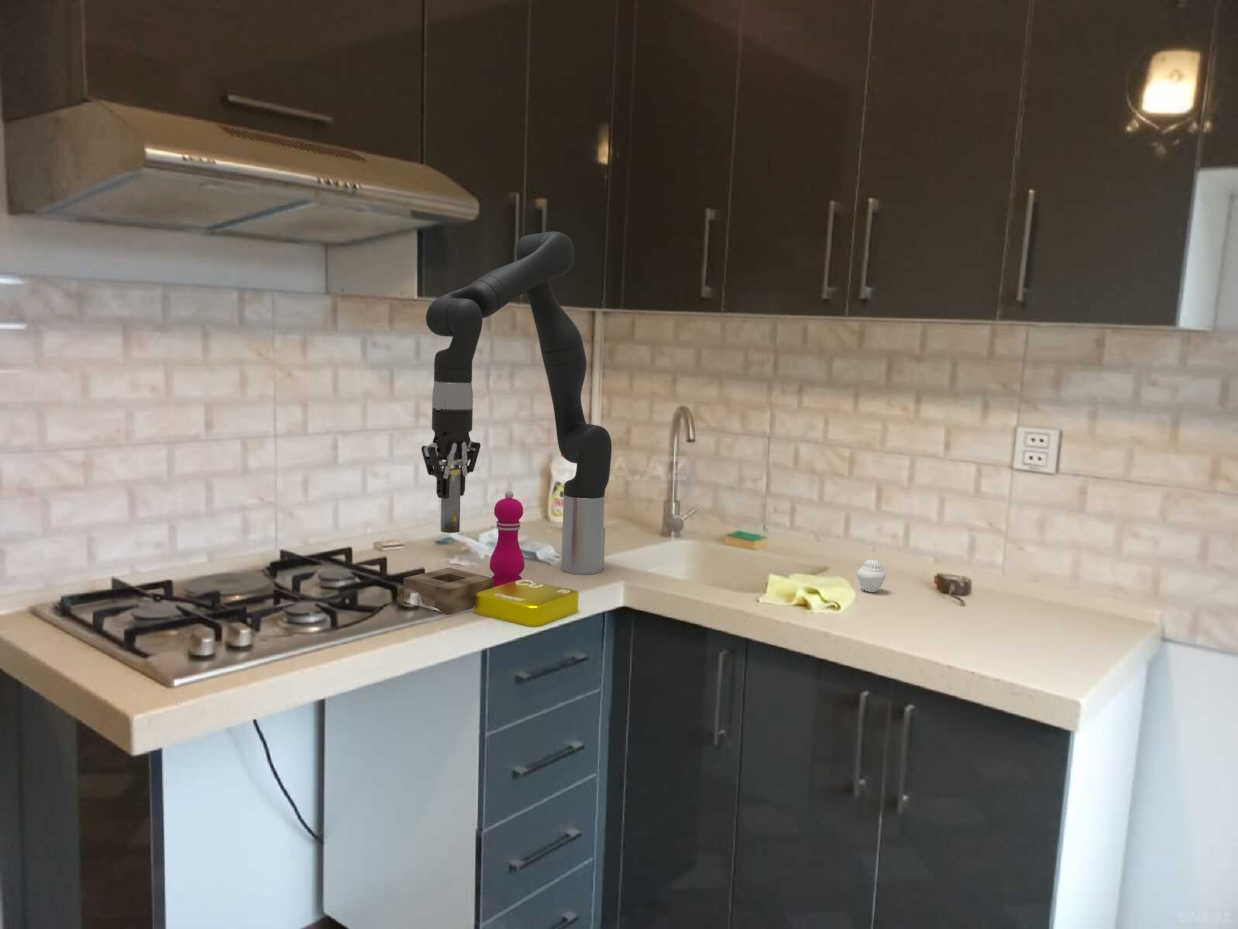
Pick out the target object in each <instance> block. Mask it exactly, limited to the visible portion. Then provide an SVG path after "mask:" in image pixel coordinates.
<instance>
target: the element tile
mask: <svg viewBox="0 0 1238 929" xmlns="http://www.w3.org/2000/svg"><path fill="white" fill-rule="evenodd" d="M474 608H475V609H474V613H475V614H476V615H479V616H483V617H487V618H492V619H495V620H500V621H503V622H508V623H512V624H517V625H521V626H524V627H533V628H535V627H536V628H537V627H542V626H545V625H547V624H550V623H553V622H556V621H558V620H561V619H563V618H567V617H569V616H571V615H574V614H577V613H578V612H579V591H578V590H575V589H571V588H565V587H560V586H555V585H551V584H548V583H542V582H536V581H533V580H530V579H522V580H516V581H513V582H510V583H506V584H503V585H500V586H497V587H493V588H490V589H487V590H483V591H480V592H478V593H476V599H475V607H474Z"/></svg>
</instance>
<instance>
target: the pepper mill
mask: <svg viewBox="0 0 1238 929" xmlns="http://www.w3.org/2000/svg"><path fill="white" fill-rule="evenodd" d="M523 506H524V505H523V503H521V502H520V500H519V499H516V498H514V492H513V491H512V490H507V491H506V492H505V493H504V498H501V499H500V500H498V501H497V502H496V503H495V506H494V508H493V514H494V516H495V518H496V519H497V520H496V525H495V528H496V529H497V534H498V536H497V540H496V545H495V548H494V550H493V551H492V554H491V556H490V560H489V569H490V571H491V572H492V573H493V575H492V576H491V578H493V587H497V586H500V585H503V584H506V583H510V582H513V581H516V580H523V579H522V576H521V573H522V572H523V571H524V569H525V559H524V554H523V552H522V550H521V547H520V544H519V530H520V529H521V522H520V519H521V518H522V517H523V514H524V507H523Z"/></svg>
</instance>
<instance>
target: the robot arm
mask: <svg viewBox="0 0 1238 929" xmlns="http://www.w3.org/2000/svg"><path fill="white" fill-rule="evenodd" d="M575 254H576V253H575V247H574V244H573V242H572V240H571V239H570V237H569V236H568V235H566V234H565V233H564V232H563V233H562V232H561V231H547V232H546V231H545V232H540V233H539V232H538V233H534V234H527V235H523V236H521V237H520V239H519V240H518V242H517V245H516V250H515V256H516V261H514V262H511V263H508V264H506V265H503V266H500V267H498V268H495V269H493V270H491V271H489V272H487V273H485V274H484V275H482V276H480V277H478V279H476V280H474V281H473V282H471V283H470V284H469V285H467V286H464V287H462V288H459V289H455V290H453V291H450V292H448V293H445V294H443V295H441V296H439V297H437V298H436V299H435V300H433V301H432V302H431V304H430V305H429V306H428V308H427V310H426V314H425V322H426V325H427V327H428V329H429V331H431V332H432V334H435V335H437V336H441V337H452V338H451V342H450V343H449V347H447V348H445V349H441V350H439V351H437V352H435V355H434V362H433V364H434V365H433V367H434V368H433V386H432V395H431V399H432V400H431V404H432V405H431V430H432V431H433V432H434V436H433V439H432V442H431V443H430V444H429V445H422V446H421V448H420V449H421V453H422V458H423V460H424V464H425V467H426V468H425V469H426V471H427V474H428V476H432V477H435V479H436V487H435V488H436V495H437V497H438V499H441V498H443V499H445V498H448V496H449V479H447V478H448V475H449V470H450V467H452V468H460V469H461V493H460V497H462V496H463V497H464V496H465V492H466V477H467V475H468V474H470V473H473V472H474V471H475V467H476V464H477V460H478V457H479V452H480V448H481V443H480V442H476V441H472V440H471V437H470V432H472V430H473V416H474V414H473V411H474V410H473V409H474V408H473V406H474V404H473V403H474V400H473V399H474V392H473V383H472V382H473V360H474V357H475V353H476V350H477V346H478V343H479V340H480V336H481V332H482V327H483V319H486V318H488V317H490V316H493V314H495V313H496V312H498V311H500V310H501V309H502V308H503V307H505V306H507V305H508V304H509V303H511V302H512V301H513V300H515V299H517V298H519V297H520V296H521V295H523V294H525V293H526V296H527V299H528V302H529V305H530V309H531V312H532V317H533V320H534V325H535V329H536V332H537V338H538V342H539V347H540V352H541V357H542V362H543V366H544V369H545V373H546V377H547V378H546V379H547V381H548V388H549V392H550V397H551V401H552V402H551V403H552V407H553V412H554V414H553V415H554V422H555V423H554V424H555V430H556V439H557V445H558V450H559V452H560V454H561V455H562V457H563V458H564V459H565V460H566V461H567V462H569V463H573V464H576V470H575V475H574V476H573V478H572V479H569V480H566V481H565V482H564V484H563V500H562V503H563V504H562V528H561V529H562V530H561V531H562V532H561V533H562V534H561V552H560V553H561V554H560V555H561V557H560V558H561V559H560V562H561V563H560V570H561V571H562V572H564V573H567V574H571V575H579V576H580V575H584V576H585V575H594V574H599V573H601V572H602V570H603V569H605V568H604V567H605V544H606V542H605V541H606V528H605V527H604V526H605V525H604V524H605V522H604V521H605V502H606V500H605V498H606V497H605V495H606V488H607V487H608V485H609V484H608V483H609V481H610V475H611V474H610V473H611V472H610V471H611V461H612V449H613V448H612V439H611V435H610V433H609V431H608V430H607V429H606V428H605V427H604V426H602V425H597V424H591V423H587V422H586V419H585V414H584V411H583V410H584V409H583V405H582V390H583V385H584V383H585V378H586V372H587V365H588V364H587V358H586V352H585V347H584V343H583V342H584V341H583V338H582V335H581V333H580V330H579V328H578V327H577V326H576V324H575V322H574V321H573V320H572V319H571V317H570V316H569V315H568V314H567V313H566V311H565V310H564V309H563V308H562V307H561V305H560V303H559V302H558V300H557V298H556V297H555V294H554V291H553V287H552V284H551V282H550V280H552V279H555V278H557V277H559V276H560V277H561V276H563V275H565V274H566V273H568V272H569V271H570V270H571V269H572V267H573V264H574V261H575ZM442 468H443V471H442Z"/></svg>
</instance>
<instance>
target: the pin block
mask: <svg viewBox="0 0 1238 929" xmlns="http://www.w3.org/2000/svg"><path fill="white" fill-rule="evenodd" d="M402 579H403V587H402V589H410V590H413V591H415V592H418V593H419V594H420V596H421V601H422V603H423V604H425V605H427V606H432V607H434V608H437V609H439V610H440V611H442V612H443V613H445V614H444V615H449V616H450V615H453V614H457V613H460V612H464V611H467V610H470V609H474V608H475V607H474V606H475V599H476V593H478V592H480V591H483V590H487V589H490V588H493V578H492V576H491V577H490V576H487V575H482V574H479V573H473V572H469V571H467V570H466V571H465V570H460V569H456V568H452V567H445V568H441V569H437V570H431V571H428V572H424V573H419V574H415V575H412V576H406V577H404V578H402ZM473 607H474V608H473ZM443 613H442V614H443Z"/></svg>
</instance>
